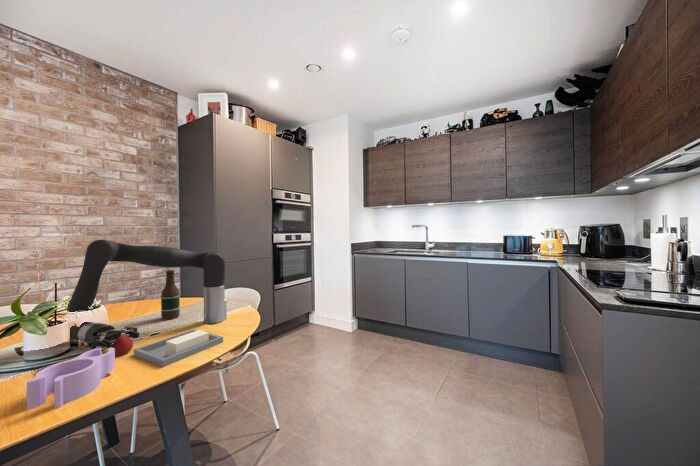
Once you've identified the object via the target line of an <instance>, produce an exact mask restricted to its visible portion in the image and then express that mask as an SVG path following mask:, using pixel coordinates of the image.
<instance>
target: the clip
mask: <svg viewBox="0 0 700 466" xmlns="http://www.w3.org/2000/svg"><path fill="white" fill-rule="evenodd" d="M102 351H103V350H102V347H97V348H96V349H90V350H88V351H85V352H83V353H81V354H80V355H78V356H77V357H74V358H71V359H68V360H65V361H60V362H57V363H55V364H52V365H49V366H47V367H44V368H43V369H41V370H40V371H38V372H37V373H36V374H35V378H31V379H29V380H27V381H26V410H31V409H33V408H36V407H40V406H42V405H43V404H46V403H47V396H48V395H49V394H51V393H52V392H53V394H54V395H53V396H54V397H53V398H54V409H59V408H61V407H63V405H64V404H66V403H70V402H73V401H75V400H78V399H80V398H83V397H85V396H87V395H89V394H91V393H92V392H94V391H95V390H97V389H98V388H99V386H100V385H101V381H102V380H104V379H105V378H107V377H109V376H111V372H112V371H113V370H114V371H115V368H116V354H115V349H114V348H112V347H111V348H108V349H107V352H106V353H102Z"/></svg>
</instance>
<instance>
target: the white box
mask: <svg viewBox="0 0 700 466" xmlns="http://www.w3.org/2000/svg"><path fill="white" fill-rule="evenodd" d="M196 330H197V331H194V332H191V333H188V334H186V335H183V336H180V337H177V338H174V339H171V340H168V341H166V356H169V357H170V356H172V355H175V354H177V353H180V352H182V351H185V350H188V349H190V348H193V347H195V346H198V345H200V344H203V343H205V342H208V341H209V333H210V332H207V331H203V330H200V329H196Z"/></svg>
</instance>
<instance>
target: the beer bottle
mask: <svg viewBox="0 0 700 466" xmlns="http://www.w3.org/2000/svg"><path fill="white" fill-rule="evenodd" d="M165 273H166V275H165V287H164V288H163V290H162V292H161V296H160V304H161V306H160V308H161V309H160V311H161V313H160V314H161V319H162V320H163V321H169V320H170V321H171V320H175V319H178V318H179V317H180V315H181V314H180V312H181V311H180V309H181V308H180V305H181V304H180V302H181V301H180V290H179V289H178V287H177V286H176V283H175V270H173V269H168V270H166V271H165Z"/></svg>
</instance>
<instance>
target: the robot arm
mask: <svg viewBox="0 0 700 466" xmlns="http://www.w3.org/2000/svg"><path fill="white" fill-rule="evenodd" d="M85 251H86V252H85V255H84V261H83V266H82V269H81V273H80V275H79V278H78V281H77V284H76V286H75V289H74V291H73V293H72V295H71V298H70V300H69V302H68V304H67V307H66V310H67V312H68V311H69V312H68V313H70V312H75V311H79V310H85V309H87V308H88V306H91V305H92V304H94V303H95V301H96V296H97V294H98V290H99V287H100V282H101V278H102V274H103V272H104V270H105V268H106V267H107V265H108V264H109V262H129V263H136V264H139V265H144V266H148V267H156V268H157V267H158V268H170V269H172V268H187V267H188V268H190V267H191V268H199V269H203V279H202V280H203V323H205V324H207V325H208V324H219V323H222V322H223V321H225V320H227V315H228V314H227V313H228V312H227V311H228V310H227V299H226V297H225V279H226V262H225V257H223V255H222V254H221V253H219V252H211V251H210V252H207V251H206V252H203V251H201V252H200V251H192V250H191V251H190V250H186V249H182V248H176V247H175V248H174V247H169V246H160V245H132V244H126V243H121V242H116V241H112V240H109V239H96V240H93V241H92V242H90V243H89V244H88V245H87V247H86V250H85ZM92 306H93V305H92ZM123 333H125V336H128V337H130V338H131V339H139V338H140V331H138V327H133V326H124V328H121V329H117V328H115V327H114V326H113V325H111V324H107V323H102V322H92V321H90V322H84V323H82V324H81V325H80V327H77V326H76V325H75V326H72V327H71V328H70V339H69V340H73V341H78V340H80V341H79V342H82V343H83V347H84V348H87V349H90V350H93V349H97V348H108V349H110V348H112V345H113V342H114V341H115V340H116V339H117V338H119V337H120V336H121V334H123Z"/></svg>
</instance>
